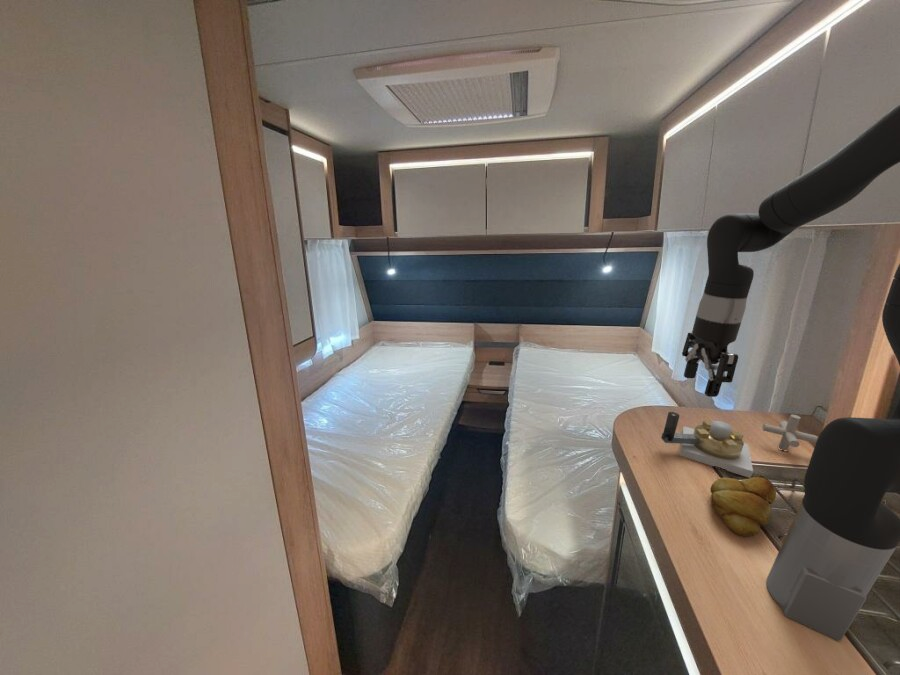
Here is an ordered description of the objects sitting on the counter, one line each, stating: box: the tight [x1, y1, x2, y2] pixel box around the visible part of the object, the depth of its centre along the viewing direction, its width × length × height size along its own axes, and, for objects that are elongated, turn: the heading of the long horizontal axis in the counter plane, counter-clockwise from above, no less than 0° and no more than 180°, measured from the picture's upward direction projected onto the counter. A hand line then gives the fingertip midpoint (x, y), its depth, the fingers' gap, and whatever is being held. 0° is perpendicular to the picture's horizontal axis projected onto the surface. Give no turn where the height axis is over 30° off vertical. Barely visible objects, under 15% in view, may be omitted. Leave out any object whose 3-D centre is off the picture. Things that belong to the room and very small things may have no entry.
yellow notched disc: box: [660, 411, 745, 459], centre depth 86 cm, size 18×10×9 cm, turn 85°
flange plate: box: [679, 420, 754, 479], centre depth 87 cm, size 12×14×8 cm
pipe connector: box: [762, 414, 819, 451], centre depth 88 cm, size 10×10×10 cm
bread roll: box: [710, 476, 777, 537], centre depth 69 cm, size 13×10×8 cm
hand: (699, 386), depth 76 cm, fingers open, 8 cm apart
